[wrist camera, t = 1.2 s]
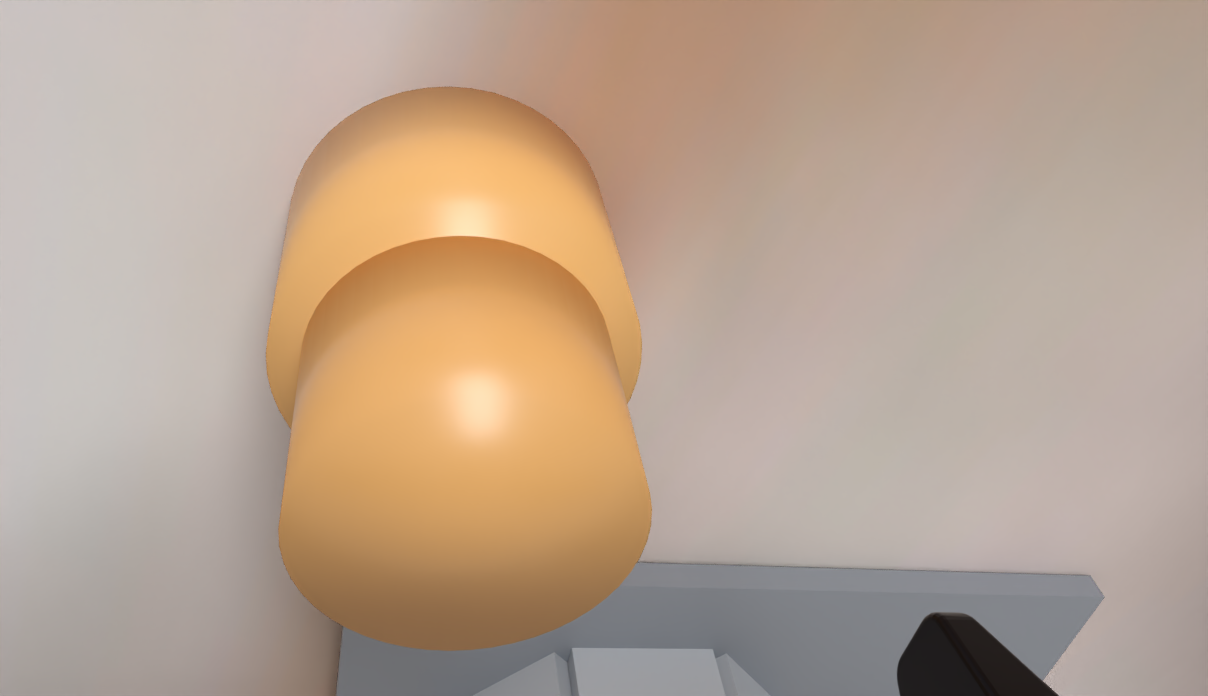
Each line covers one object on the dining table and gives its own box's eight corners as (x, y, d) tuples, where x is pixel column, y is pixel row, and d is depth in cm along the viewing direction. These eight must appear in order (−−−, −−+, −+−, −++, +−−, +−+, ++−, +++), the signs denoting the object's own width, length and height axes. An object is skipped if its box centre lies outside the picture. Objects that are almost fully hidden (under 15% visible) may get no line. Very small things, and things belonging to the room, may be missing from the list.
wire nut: (634, 110, 15) (742, 378, 10) (572, 366, 17) (634, 672, 13) (295, 63, 14) (235, 340, 9) (284, 344, 16) (234, 672, 11)
